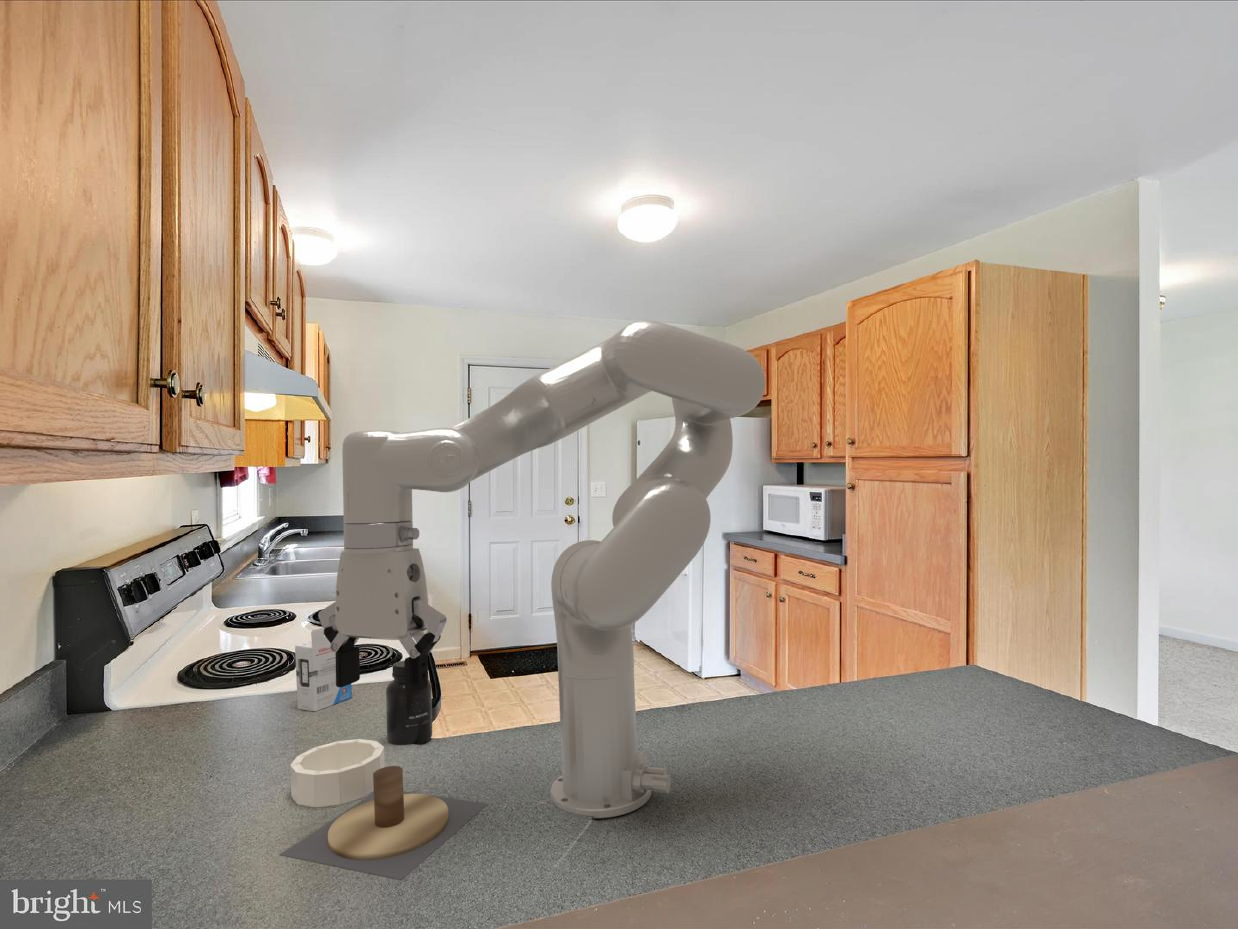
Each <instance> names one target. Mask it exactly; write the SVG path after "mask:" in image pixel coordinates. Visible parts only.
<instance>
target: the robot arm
mask: <svg viewBox="0 0 1238 929" xmlns="http://www.w3.org/2000/svg"><path fill="white" fill-rule="evenodd" d="M766 385H767V384H766V375H765V371H764V369H763V367H762V365H761V363H760V362H759V361H758V360H757V358H756V357H755V356H754V355H752V354H751V353H750V352H749V351H747V350H745V349H744V348H741V347H740V346H738V345H737V346H736V345H734V344H730V343H728V342H725V341H722V340H719V339H715V338H712V337H708V336H706V335H703V334H700V333H697V332H693V331H691V330H689V329H688V330H687V329H684V328H681V327H678V326H676V325H675V326H674V325H671V324H668V323H664V322H660V321H654V320H648V319H646V320H645V319H644V320H635V321H632V322H631V323H628V324H627V325H625V326H624V327H622V328H621V329H620V330H619V331H618V332H616V333H615V334H614V335H613V336H610V337H609V338H608V339H606V340H603V341H601V342H599V343H597V344H596V345H593V346H592V347H590V348H588V349H585V350H583V351H582V352H580V353H578V354H576V355H574V356H573V357H570V358H567V360H565V361H564V360H563V361H562V362H560V363H559V364H557V365H553V366H552V367H550V368H548V369H545V370H544V371H542V372H540V373H537V374H535V375H534V376H531V377H530V378H528V379H527V380H525V381H524V382H522V383H521V384H519V385H518V386H516V387H515V388H514V389H513V390H512V391H511V392H510V393H508V394H507V395H506V396H504V397H503V398H502V399H500V400H499V401H497V402H495V403H494V404H493V405H491V406H489V407H487V408H486V409H483V410H482V411H480V412H478V413H476V414H475V415H473V416H471V417H469V418H467V419H465V420H463V421H461V422H459V423H457V424H455V425H453V426H451V427H436V428H431V429H430V428H429V429H422V430H415V431H403V432H400V431H394V430H393V431H392V430H361V431H354V432H351V433H349V434H348V435H346V436H345V437H344V439H343V442H342V497H343V500H342V504H343V506H342V507H343V550H341V552H340V557H339V562H338V567H337V574H336V585H335V598H334V599H335V600H334V602H333V603H330V604H329V605H328V606H326V607H325V608H323V609H322V610H319V611H318V614H317V616H318V619H319V621H320V624H321V628H322V627H323V628H324V636H325V637H326V638H327V639H328V641H329V642H330V643H331V645H330V648H331V650H332V651H333V652H336V653H335V655H336V686H337V687H344V686H346V685H349V684H351V685H352V684H353V683H356V682H358V681H359V680H360V679H361V670H360V669H361V663H360V655H361V654H360V646H355V645H356V644H357V642H358V640H360V639H370V640H371V639H372V640H383V641H384V640H385V641H397V640H398V641H399V643H400V644H401V645H402V647H403V649H404V650H405V651H406V653H407V655H408V657H405V659H404V660H405V661H404V660H403V661H404V666H405V692H406V694H414V693H416V692H418V691H420V690H422V689H424V688H426V687H427V685H428V679H429V656H428V655H429V653H431V652H432V651H433V648H434V647H435V646H436V645H437V643H438V642H439V641H440V639H441V634H442V633H443V630H444V628H445V626H446V624H447V620H448V618H447V616H446V615H445V614H443V613H442V612H440V611H439V610H437V609H436V608H434V607H433V606H431V605H430V604H429V596H428V587H427V579H426V574H425V573H426V572H425V569H424V568H425V567H424V563H423V559H422V558H423V557H422V554H421V551H420V548H416V547H414V540H418V539H419V537H420V530H419V528H417V527H413V526H414V525H413V524H414V523H413V490H414V491H415V490H418V491H429V492H436V493H437V492H438V493H452V492H457V491H459V490H461V489H464V488H465V487H466V486H467V485H469V484H470V483H471V482H472V481H474V480H476V479H478V478H479V477H482V476H483V475H485V474H487V473H489V472H491V471H493V470H495V469H496V468H499V467H501V466H502V465H504V464H507V463H508V462H510V461H513V460H514V459H516V458H518V457H521V456H522V455H524V454H527V453H529V452H532V451H535V450H536V449H540V448H544V447H546V446H550V445H552V444H553V443H556V442H557V441H560V440H561V439H564V438H566V437H568V436H569V435H572V434H574V433H575V432H577V431H580V429H583V428H585V427H587V426H588V425H590V424H592V423H594V422H596V421H598V420H600V419H602V418H604V417H605V416H607V415H609V414H611V413H613V412H615V411H616V410H618V409H620V408H622V407H624V406H626V405H628V404H630V403H632V402H633V401H635V400H637V399H639V398H641V397H642V396H645V395H646V394H649V393H651V392H654V393H657V394H661V395H663V396H665V397H669V398H671V402H672V407H673V411H674V417H675V418H674V419H675V424H674V425H675V426H674V431H673V435H672V437H671V438H670V440H669V442H667V444H666V445H665V447H664V448H663V449H662V451H661V452H660V453H659V454H658V455H657V457H656V458H654V460H653V461H652V462H651V463H650V464H649V465H648V466H647V467H646V469H644V471H643V472H642V473H641V474H640V475H639V476H638V477H637V478H636V479H635V480H634V481H633V482H632V483H631V484H630V485H629V486H627V488H626V489H625V490H624V491H623V493H622V494H621V495H620V496H619V497H618V499H617V501H616V502H615V504H614V508H613V510H612V516H611V517H612V518H611V519H612V526H613V528H612V529H611V530H610V531H609V532H608V533H607V535H605V536H604V538H603V539H602V540H601V541H600V540H593V539H592V540H591V539H589V540H588V539H587V540H581V541H578V542H575V543H573V544H571V545H570V546H568V547H567V548H565V549H564V551H563V552H562V553H561V554H560V555H559V556H558V558H557V560H556V562H555V564H554V565H553V566H554V567H553V570H552V574H551V584H550V586H551V599H552V608H553V615H554V624H555V634H556V646H557V648H556V649H557V667H558V668H557V670H558V671H557V677H558V679H557V680H558V702H559V703H558V704H559V705H558V706H559V726H560V728H559V729H560V747H561V748H560V750H561V775H560V776H559V777H557V778H556V779H555V780H554V781H553V782H552V784H551V787H550V799H551V801H552V803H553V804H554V805H555V806H556V807H557V808H559V809H561V810H563V811H565V812H568V813H570V814H574V815H580V816H588V817H590V816H592V817H591V819H605V818H613V817H618V816H622V815H626V814H629V813H631V812H634V811H636V810H637V809H639V808H641V807H642V806H644V805H645V804H646V803H647V802H648V801H649V800H650V798H651V796H652V791H653V792H654V793H660V794H661V793H662V794H669V793H670V790H671V785H672V782H671V781H672V780H671V776H670V775H667V773H668V772H667V768H666V767H659V766H656V767H651V766H649V764H647V763H646V755H645V754H646V753H645V752H641V751H639V752H638V735H637V733H638V732H637V715H636V714H637V712H636V689H635V669H634V668H635V658H634V657H635V656H634V655H635V654H634V643H633V641H634V640H633V635H632V626H633V625H634V624H635V623H637V621H639V620H640V619H642V618H643V617H644V616H645V615H646V614H647V613H648V612H649V611H650V610H651V609H652V608H653V606H654V605H655V604H656V603H657V602H658V600H659V599H660V598H662V596H663V595H664V594H665V593H666V591H668V589H669V588H670V587H671V585H672V584H673V583H674V582H675V581H676V580H677V579H678V578H679V577H680V575H681V574H682V572H683V571H685V569H686V568H687V567H688V565H690V563H691V562H692V561H693V559H695V557H696V556H697V555H698V553H699V552H700V550H701V549H702V547H703V545H704V544H705V541H706V539H707V537H708V535H709V532H710V528H711V510H710V506H709V503H708V502H709V501H708V500H707V498H708V497H709V496H710V495H711V493H712V492H713V491H714V489H715V488H716V487H717V486H718V485H719V483H720V482H721V480H722V479H723V477H724V476H725V474H726V472H727V471H728V468H729V467H730V464H731V460H732V456H733V447H734V446H733V444H734V443H733V441H734V440H733V438H734V437H733V428H732V427H733V425H732V422H731V419H735V418H737V417H738V418H739V417H741V416H744V415H746V414H748V413H749V412H751V411H752V410H754V409H755V408H756V407H757V406H758V404H760V402H761V400H762V399H763V397H764V394H765V390H766ZM424 631H426V632H424Z"/></svg>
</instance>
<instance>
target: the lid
mask: <svg viewBox="0 0 1238 929" xmlns="http://www.w3.org/2000/svg"><path fill="white" fill-rule="evenodd" d="M403 772H404V770H403V767H402V766H399V765H398V766H397V765H389V766H385V767H384V768H381V769H378V770H377V771H375V772H374V773H373V787H374V791H373V793H374V800H372V801H369V802H366V803H364V804H361V805H359V806H357V807H355V808H353V809H351V810H349V811H347V810H346V811H347V812H346V813H344V812H343V813H344V814H343V815H342V816H340V817H339V818H338V819H337V820H336V821H335V822H334V823H333V824H332V825H331V827H330V829H329V831H328V845H329V848H330V849H331V850H332V851H333V852H334V853H335V854H337V855H339V856H341V857H344V858H348V859H355V860H373V859H382V858H388V857H392V856H396V855H400V854H403V853H406V852H409V851H412V850H414V849H416V848H419V847H421V846H423V845H424V844H426V843H428V842H430V841H431V840H433V839H434V838H435V837H437V836H438V835H439V834H440V833H441V832H442V831H443V830H444V828H445V827H446V825H447V823H448V818H449V815H448V807H447V805H446V803H445V802H444V801H442V800H441V799H439V798H437V797H434V796H435V795H433V796H431V794H426V795H425V793H424V794H423V793H419V794H403V791H404V775H403V774H404V773H403Z"/></svg>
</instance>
